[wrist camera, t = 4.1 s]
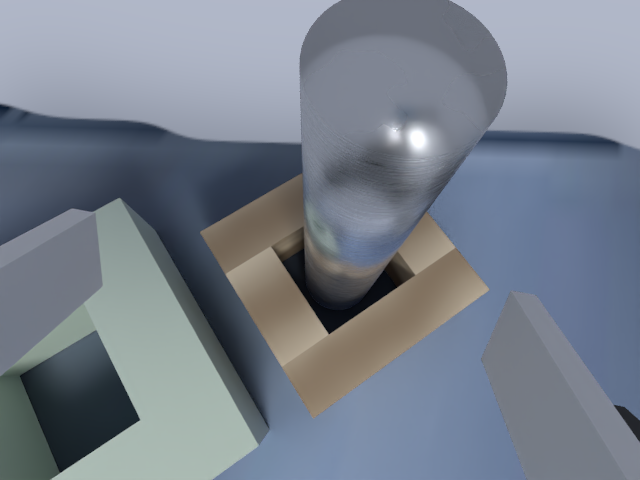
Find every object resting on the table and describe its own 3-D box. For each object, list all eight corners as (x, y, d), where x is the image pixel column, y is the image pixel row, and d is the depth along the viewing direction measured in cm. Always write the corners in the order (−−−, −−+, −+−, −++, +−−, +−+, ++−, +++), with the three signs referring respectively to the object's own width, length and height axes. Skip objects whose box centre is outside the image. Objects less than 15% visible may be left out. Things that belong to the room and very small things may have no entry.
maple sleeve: (461, 302, 24) (489, 289, 21) (312, 410, 22) (313, 418, 18) (358, 168, 27) (365, 135, 23) (216, 253, 25) (199, 232, 21)
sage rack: (269, 429, 22) (258, 445, 17) (20, 608, 19) (-75, 686, 14) (155, 230, 25) (119, 197, 21) (-70, 356, 23) (-170, 352, 18)
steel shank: (382, 286, 25) (550, 92, 8) (328, 322, 24) (381, 197, 7) (345, 235, 26) (419, -39, 9) (293, 268, 25) (260, 39, 8)
